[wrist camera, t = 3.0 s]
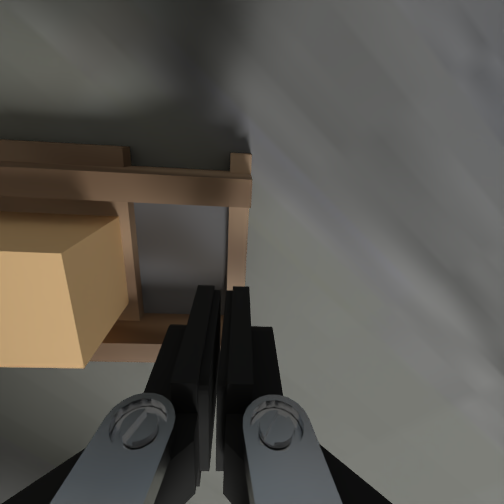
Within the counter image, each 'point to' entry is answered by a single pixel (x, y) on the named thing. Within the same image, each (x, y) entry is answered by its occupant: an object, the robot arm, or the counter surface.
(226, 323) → the robot arm
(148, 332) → the brown piece
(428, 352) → the counter surface
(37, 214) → the block
